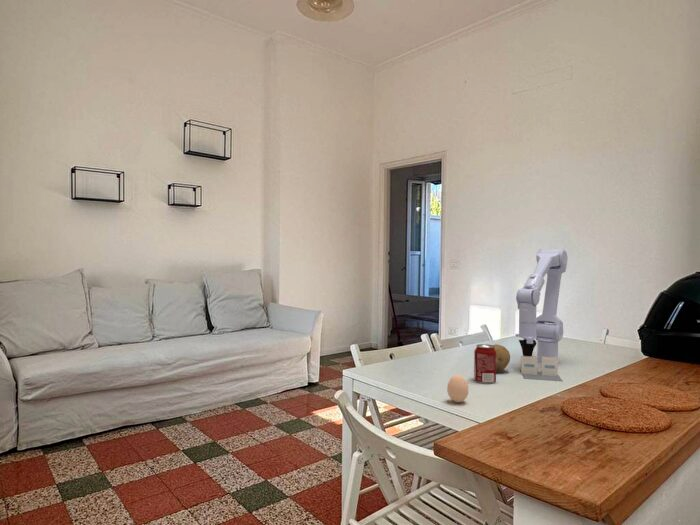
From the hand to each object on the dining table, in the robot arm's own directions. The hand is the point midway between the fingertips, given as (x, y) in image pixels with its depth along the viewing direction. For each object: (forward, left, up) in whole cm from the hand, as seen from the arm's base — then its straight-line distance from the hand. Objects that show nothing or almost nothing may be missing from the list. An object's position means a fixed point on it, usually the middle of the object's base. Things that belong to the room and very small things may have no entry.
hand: (527, 360), depth 162 cm
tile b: (+5, +7, -3) cm, 9 cm away
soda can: (+19, -15, -4) cm, 24 cm away
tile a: (+5, 0, -3) cm, 6 cm away
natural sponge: (+4, -11, -4) cm, 12 cm away
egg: (+42, -23, -4) cm, 48 cm away
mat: (+6, +4, -4) cm, 8 cm away
